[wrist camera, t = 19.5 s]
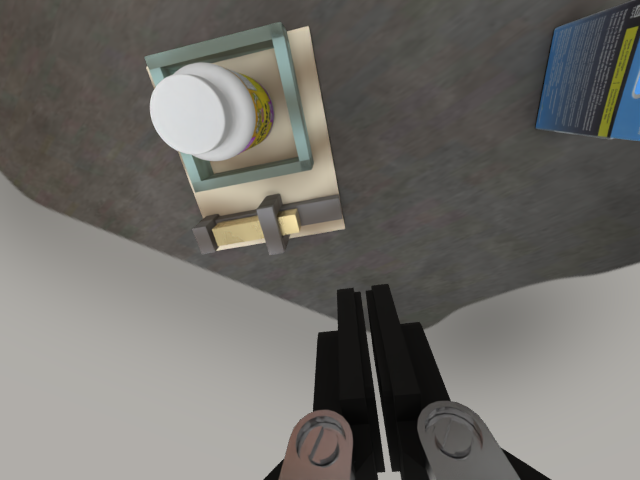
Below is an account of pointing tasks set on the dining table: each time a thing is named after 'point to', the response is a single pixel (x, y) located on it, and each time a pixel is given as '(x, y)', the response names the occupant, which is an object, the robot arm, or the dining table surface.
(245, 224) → the lock bolt
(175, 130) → the supplement bottle
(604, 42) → the label tape box
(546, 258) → the dining table surface
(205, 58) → the dock
